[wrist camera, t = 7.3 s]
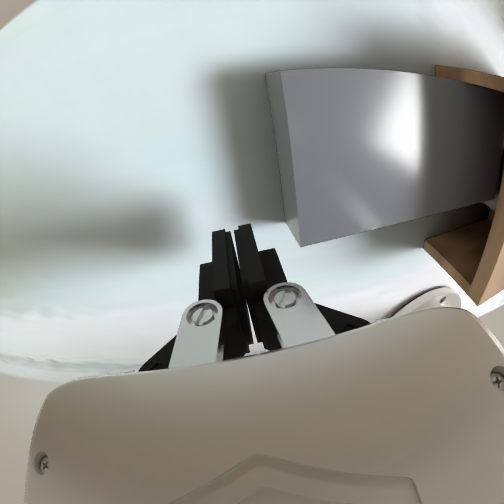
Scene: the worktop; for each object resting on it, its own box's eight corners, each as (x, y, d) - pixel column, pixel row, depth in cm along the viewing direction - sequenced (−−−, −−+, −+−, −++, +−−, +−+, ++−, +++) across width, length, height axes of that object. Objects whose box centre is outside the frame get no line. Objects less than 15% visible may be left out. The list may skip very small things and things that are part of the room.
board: (474, 86, 12) (505, 94, 9) (468, 182, 16) (494, 199, 14) (263, 73, 11) (280, 70, 9) (283, 218, 16) (300, 247, 13)
